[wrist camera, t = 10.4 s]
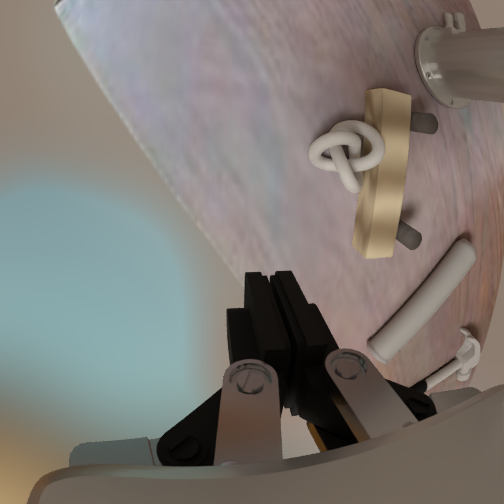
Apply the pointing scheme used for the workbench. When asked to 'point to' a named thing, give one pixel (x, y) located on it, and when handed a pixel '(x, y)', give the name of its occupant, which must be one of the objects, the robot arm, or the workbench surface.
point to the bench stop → (387, 174)
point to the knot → (355, 164)
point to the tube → (423, 301)
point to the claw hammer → (455, 364)
